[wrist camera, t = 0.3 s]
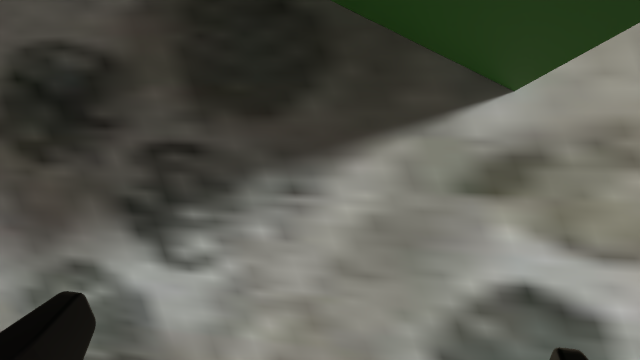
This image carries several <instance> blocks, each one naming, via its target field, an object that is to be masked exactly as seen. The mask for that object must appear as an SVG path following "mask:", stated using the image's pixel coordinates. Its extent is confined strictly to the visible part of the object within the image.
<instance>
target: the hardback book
mask: <svg viewBox="0 0 640 360" xmlns="http://www.w3.org/2000/svg"><path fill="white" fill-rule="evenodd" d="M331 1H333V2H335V3H337V4H339V5H341V6H343V7H345V8H347V9H349V10H351V11H353V12H355V13H357V14H359V15H361V16H363V17H365V18H367V19H369V20H371V21H373V22H375V23H377V24H379V25H381V26H384V27H386V28H388V29H390V30H392V31H394V32H396V33H398V34H400V35H402V36H404V37H406V38H408V39H410V40H412V41H414V42H416V43H418V44H420V45H422V46H424V47H426V48H428V49H430V50H432V51H434V52H436V53H438V54H440V55H442V56H444V57H446V58H448V59H450V60H452V61H454V62H456V63H458V64H460V65H462V66H464V67H466V68H468V69H470V70H472V71H474V72H476V73H478V74H480V75H482V76H484V77H486V78H488V79H490V80H492V81H494V82H496V83H498V84H500V85H502V86H504V87H507V88H509V89H511V90H513V91H516V90H517V89H519V88H521V87H523V86H525V85H526V84H528V83H530V82H532V81H534V80H536V79H537V78H539V77H541V76H543V75H545V74H547V73H548V72H550V71H552V70H554V69H556V68H558V67H559V66H561V65H563V64H565V63H567V62H568V61H570V60H572V59H574V58H576V57H578V56H579V55H581V54H583V53H585V52H587V51H589V50H590V49H592V48H594V47H596V46H598V45H600V44H601V43H603V42H605V41H607V40H609V39H610V38H612V37H614V36H616V35H618V34H620V33H621V32H623V31H625V30H627V29H629V28H631V27H632V26H634V25H636V24H638V23H640V0H331Z"/></svg>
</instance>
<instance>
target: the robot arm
mask: <svg viewBox="0 0 640 360" xmlns="http://www.w3.org/2000/svg"><path fill="white" fill-rule="evenodd" d="M95 326H96V321H95V317H94V314H93V312H92V310H91V308H90V305H89V303H88V301H87V299H86V297H85V295H84V294H82V293H78V292H69V291H64V292H61V293H59V294H57V295H56V296H54V297H53V298H51V299H50V300H48V301H47V302H45V303H44V304H42V305H41V306H39V307H38V308H36V309H35V310H33V311H32V312H30V313H29V314H27V315H26V316H24V317H23V318H21V319H20V320H18V321H17V322H15V323H14V324H12V325H11V326H9V327H8V328H6V329H5V330H3V331H2V332H0V360H83V359H84V356H85V354H86V351H87V348H88V346H89V343H90V341H91V338H92V336H93V333H94V330H95ZM550 360H588V359H587V357H586V356H585V355H584V354H583V353H582V352H581V351H579V350H576V349H569V348H560V347H559V348H555V349H554V350H553V352H552V355H551V357H550Z"/></svg>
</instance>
